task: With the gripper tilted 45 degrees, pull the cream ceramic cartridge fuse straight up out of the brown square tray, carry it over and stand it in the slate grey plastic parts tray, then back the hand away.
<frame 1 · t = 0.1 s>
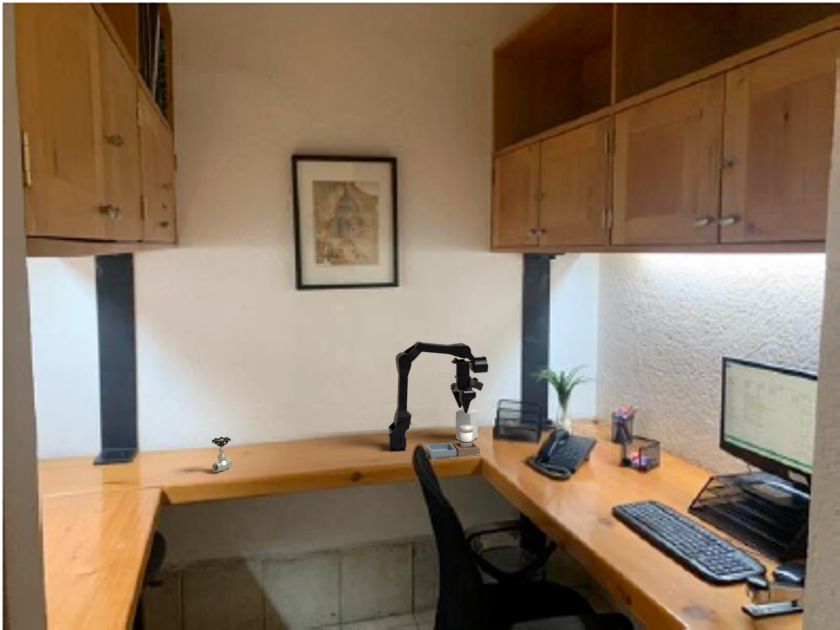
hand: (463, 410, 267), 15 cm above the table, tool pointing down, fingers open, 9 cm apart
cartridge fuse: (466, 439, 257), in the brown square tray
valve: (222, 471, 237), on the table
brown square tray: (466, 452, 258), on the table
supplement box: (466, 439, 277), on the table
parts tray: (440, 454, 256), on the table
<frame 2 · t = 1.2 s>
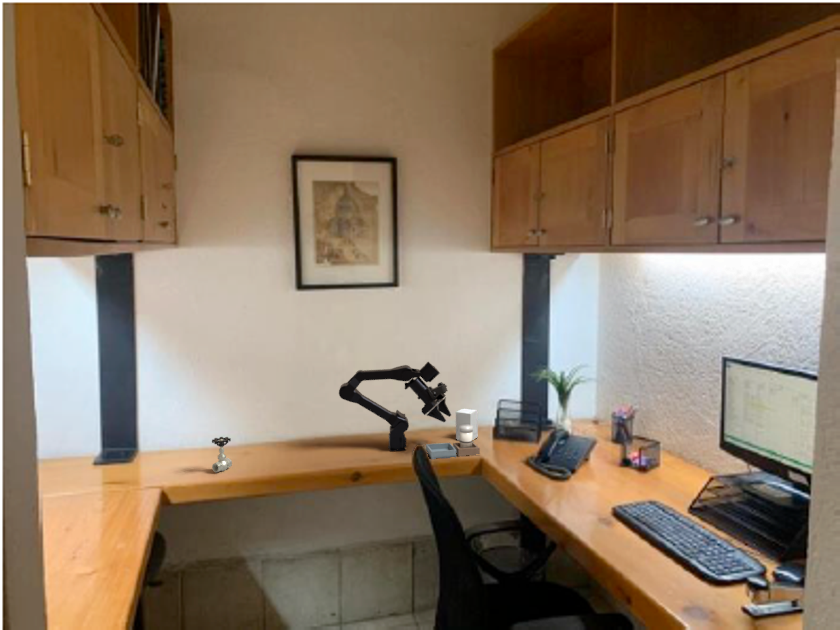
hand: (447, 418, 259), 13 cm above the table, tool tilted 45°, fingers open, 9 cm apart
nothing on the table moved.
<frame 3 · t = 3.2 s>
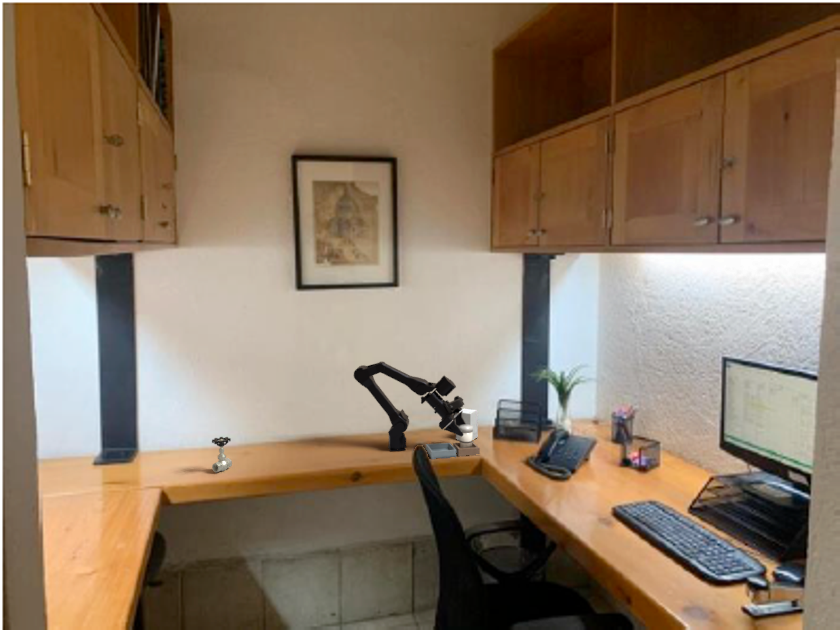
hand: (465, 432, 257), 8 cm above the table, tool tilted 45°, fingers open, 9 cm apart
nothing on the table moved.
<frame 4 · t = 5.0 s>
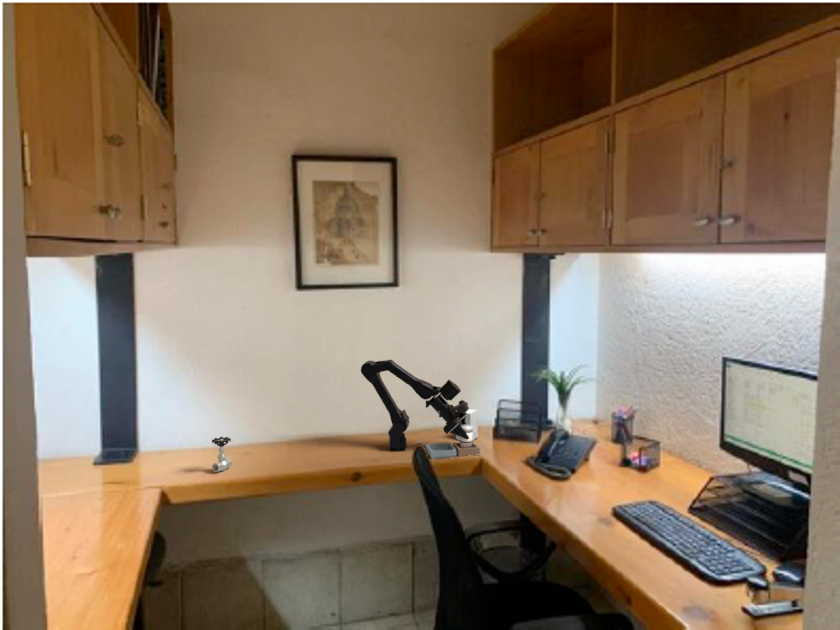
hand: (469, 436, 257), 7 cm above the table, tool tilted 45°, fingers closed on cartridge fuse, 5 cm apart
cartridge fuse: (466, 439, 257), in the brown square tray, touching gripper
everything else where it was.
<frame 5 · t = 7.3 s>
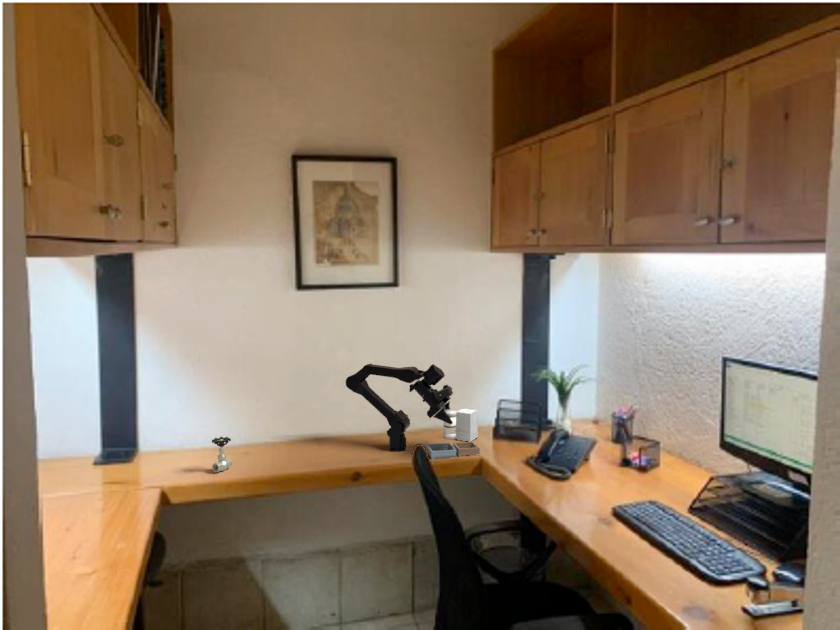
hand: (453, 421, 255), 13 cm above the table, tool tilted 45°, fingers closed on cartridge fuse, 5 cm apart
cartridge fuse: (449, 424, 256), point 12 cm above the table, touching gripper
everything else where it was.
when the fingers open (8 cm above the table, at t = 9.8 s): cartridge fuse stays where it is, resting on parts tray.
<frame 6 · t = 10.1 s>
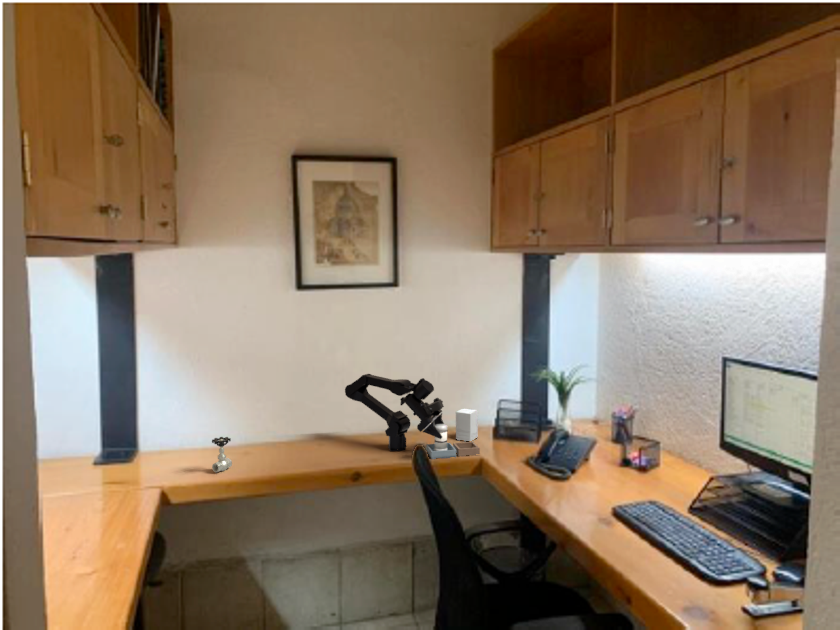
hand: (444, 435, 254), 8 cm above the table, tool tilted 45°, fingers open, 9 cm apart
cartridge fuse: (440, 439, 255), in the parts tray, point 6 cm above the table
everything else where it was.
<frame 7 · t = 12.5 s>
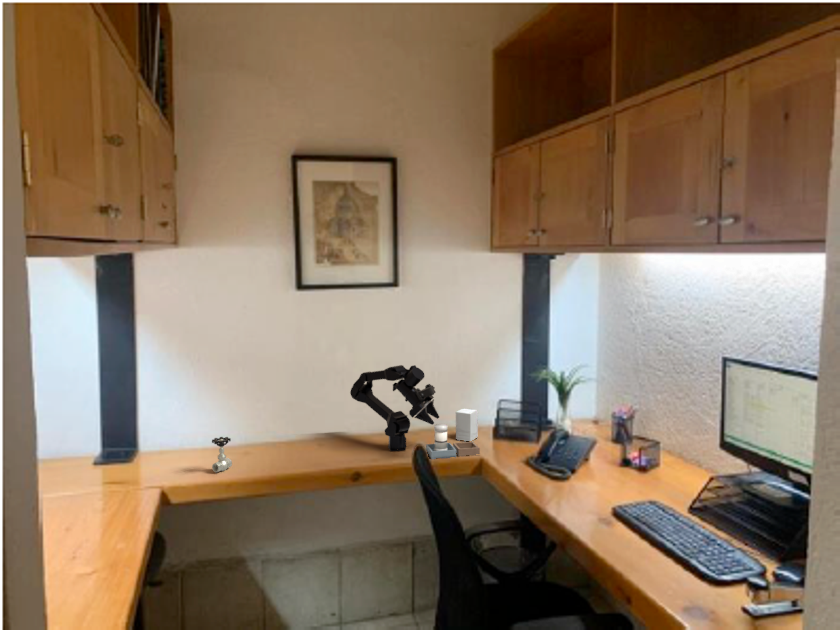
hand: (436, 420, 255), 13 cm above the table, tool tilted 45°, fingers open, 9 cm apart
nothing on the table moved.
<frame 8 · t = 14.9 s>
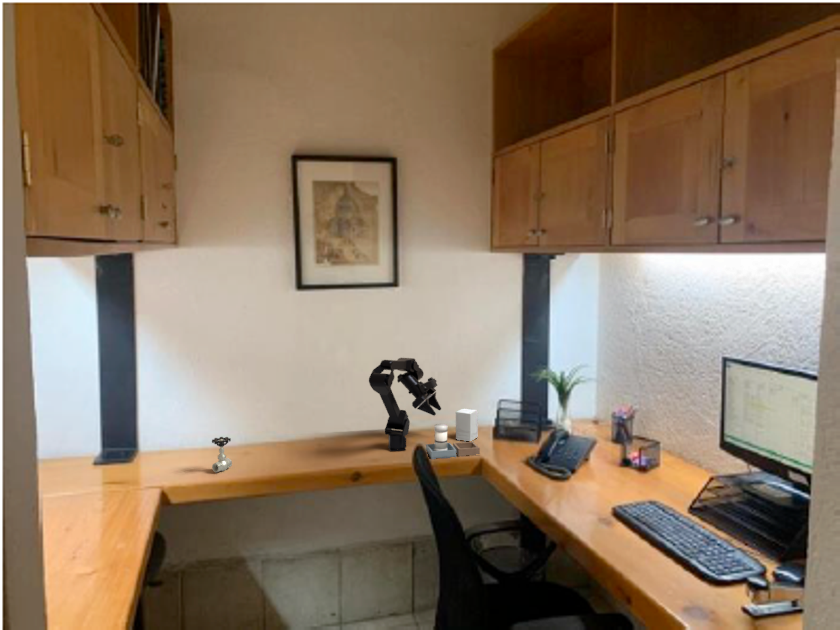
hand: (437, 412, 269), 14 cm above the table, tool tilted 45°, fingers open, 9 cm apart
nothing on the table moved.
at the end: cartridge fuse 0.0 cm off-centre on the parts tray, point 6.3 cm above the parts tray's base; cartridge fuse tilted 1°; the gripper is holding nothing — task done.
